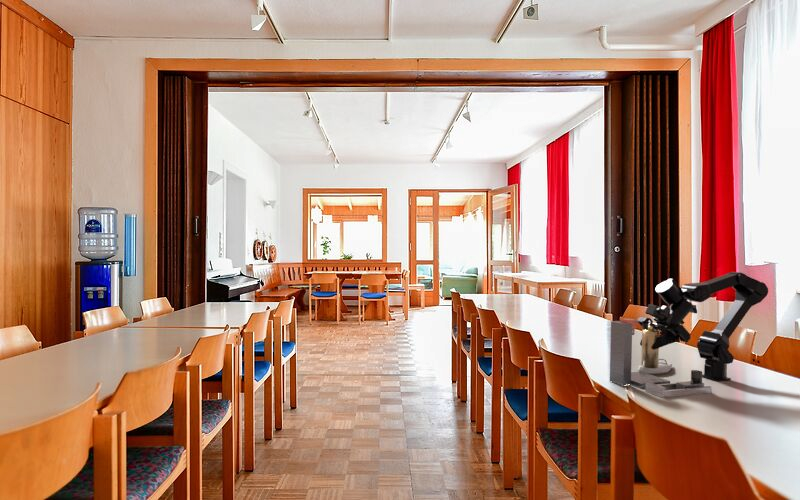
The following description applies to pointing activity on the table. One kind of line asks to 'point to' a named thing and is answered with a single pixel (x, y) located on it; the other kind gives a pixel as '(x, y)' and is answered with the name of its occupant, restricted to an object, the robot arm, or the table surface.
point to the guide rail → (670, 391)
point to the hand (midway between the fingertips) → (646, 346)
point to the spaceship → (661, 368)
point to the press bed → (626, 356)
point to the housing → (649, 348)
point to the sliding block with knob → (692, 381)
